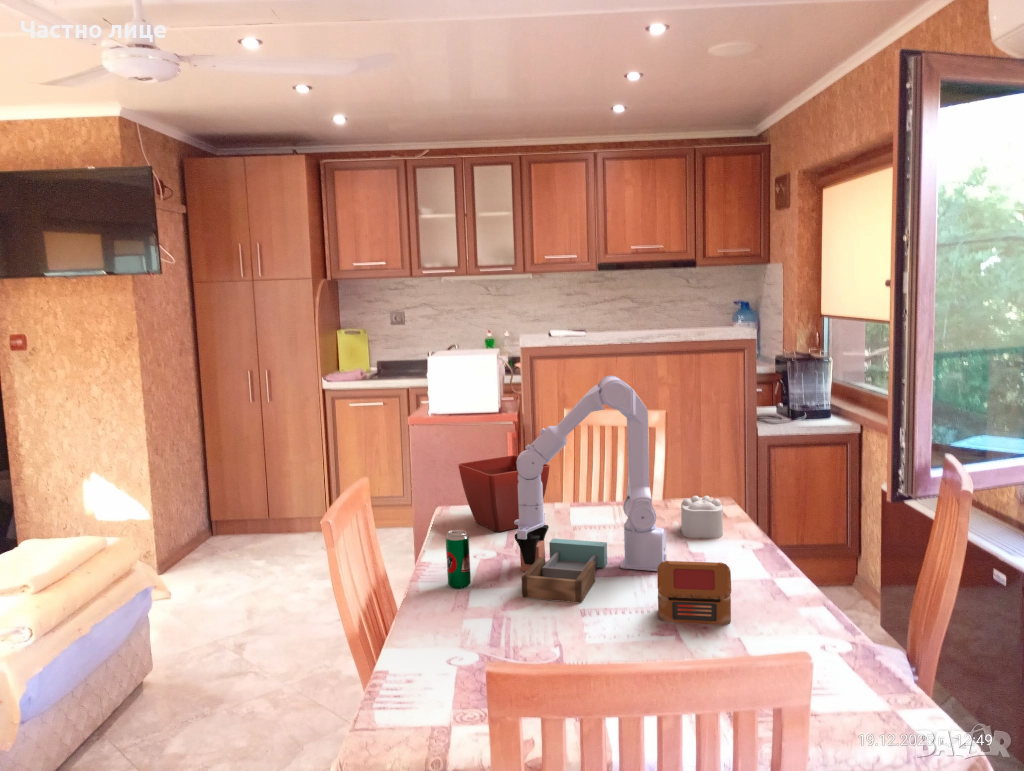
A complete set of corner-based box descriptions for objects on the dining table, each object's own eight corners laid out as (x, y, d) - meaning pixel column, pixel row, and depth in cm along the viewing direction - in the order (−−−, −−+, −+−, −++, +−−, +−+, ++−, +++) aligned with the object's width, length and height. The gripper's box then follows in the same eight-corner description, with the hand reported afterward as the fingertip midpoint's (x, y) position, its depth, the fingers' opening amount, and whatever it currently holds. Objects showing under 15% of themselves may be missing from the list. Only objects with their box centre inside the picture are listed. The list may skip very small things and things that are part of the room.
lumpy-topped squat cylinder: (682, 538, 194) (681, 505, 193) (680, 523, 207) (680, 491, 206) (724, 539, 193) (724, 505, 192) (720, 523, 205) (719, 492, 204)
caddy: (595, 581, 167) (594, 561, 167) (581, 603, 156) (580, 581, 155) (540, 576, 172) (539, 557, 171) (522, 597, 160) (521, 576, 160)
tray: (607, 563, 178) (606, 542, 177) (592, 585, 164) (592, 563, 164) (553, 558, 182) (553, 538, 182) (535, 580, 169) (534, 558, 168)
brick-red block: (545, 565, 178) (544, 540, 178) (539, 572, 174) (538, 546, 173) (527, 564, 180) (526, 539, 179) (520, 570, 176) (519, 545, 175)
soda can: (467, 590, 165) (465, 536, 164) (445, 589, 166) (442, 535, 165) (473, 581, 170) (471, 529, 169) (451, 580, 171) (449, 528, 170)
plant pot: (517, 509, 226) (514, 454, 224) (553, 525, 210) (551, 464, 208) (459, 521, 216) (456, 463, 215) (492, 538, 200) (490, 475, 198)
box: (761, 593, 158) (761, 538, 157) (780, 656, 131) (780, 590, 130) (625, 588, 164) (624, 534, 163) (615, 646, 137) (614, 583, 136)
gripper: (524, 493, 183) (526, 548, 185) (503, 510, 170) (505, 569, 171) (552, 495, 181) (554, 550, 183) (533, 512, 167) (535, 572, 169)
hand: (532, 560), depth 177 cm, fingers closed on brick-red block, 4 cm apart
